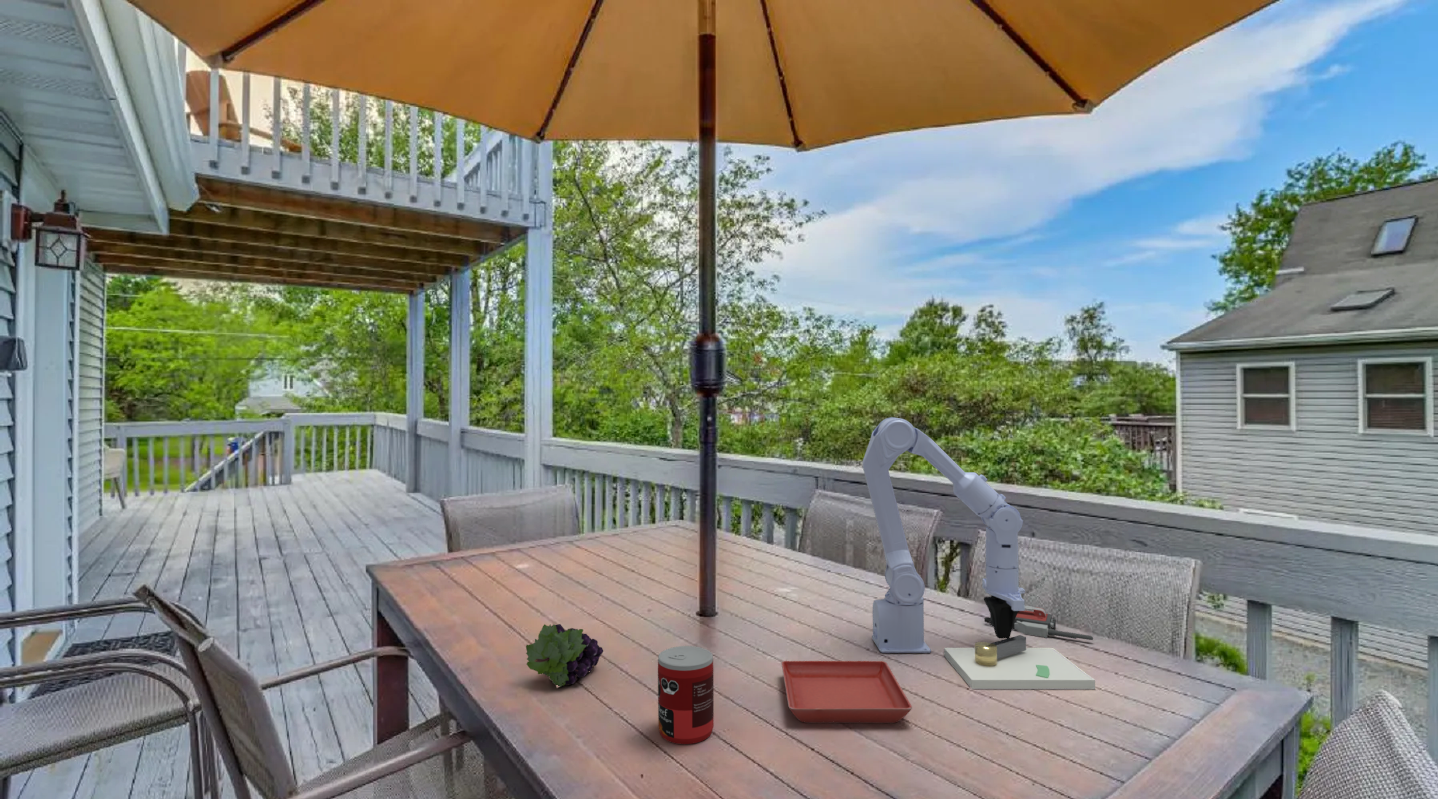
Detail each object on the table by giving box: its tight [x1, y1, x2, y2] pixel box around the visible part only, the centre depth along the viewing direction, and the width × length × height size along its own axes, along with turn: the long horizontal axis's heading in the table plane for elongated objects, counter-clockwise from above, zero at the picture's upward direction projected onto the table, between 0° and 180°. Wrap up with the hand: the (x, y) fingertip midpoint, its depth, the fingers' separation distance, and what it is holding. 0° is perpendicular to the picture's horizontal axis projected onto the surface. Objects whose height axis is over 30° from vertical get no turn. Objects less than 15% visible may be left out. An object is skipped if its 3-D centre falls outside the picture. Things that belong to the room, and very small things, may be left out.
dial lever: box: [974, 634, 1027, 665], centre depth 116 cm, size 12×4×3 cm, turn 119°
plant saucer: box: [780, 660, 913, 724], centre depth 103 cm, size 18×18×3 cm
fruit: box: [525, 623, 604, 687], centre depth 112 cm, size 10×10×15 cm
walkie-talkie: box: [983, 605, 1094, 641], centre depth 134 cm, size 9×4×20 cm
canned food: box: [657, 645, 715, 745], centre depth 94 cm, size 8×8×11 cm
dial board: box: [943, 647, 1096, 690], centre depth 114 cm, size 20×14×2 cm
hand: (1002, 637), depth 124 cm, fingers closed
